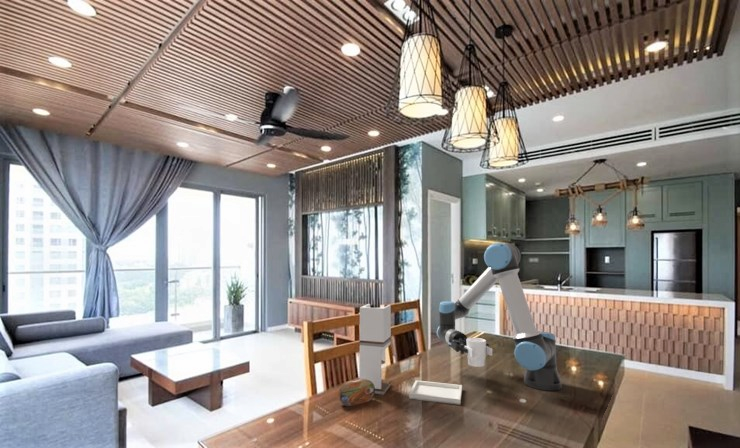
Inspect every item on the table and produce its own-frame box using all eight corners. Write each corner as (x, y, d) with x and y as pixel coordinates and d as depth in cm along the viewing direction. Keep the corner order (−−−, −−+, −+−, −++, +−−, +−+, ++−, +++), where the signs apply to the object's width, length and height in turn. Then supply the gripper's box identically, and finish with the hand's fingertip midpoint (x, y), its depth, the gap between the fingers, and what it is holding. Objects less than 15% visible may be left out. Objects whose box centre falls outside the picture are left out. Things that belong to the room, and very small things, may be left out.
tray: (462, 389, 155) (462, 385, 156) (460, 404, 140) (460, 399, 140) (415, 384, 161) (415, 380, 161) (409, 398, 146) (409, 393, 146)
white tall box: (383, 394, 150) (383, 308, 153) (359, 391, 153) (359, 307, 156) (390, 385, 161) (390, 304, 164) (368, 382, 164) (368, 303, 167)
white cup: (487, 368, 145) (487, 342, 146) (467, 366, 147) (466, 341, 148) (485, 362, 153) (484, 338, 154) (465, 361, 155) (465, 337, 156)
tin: (340, 408, 137) (340, 385, 138) (337, 405, 140) (337, 382, 140) (375, 400, 144) (375, 378, 145) (371, 398, 147) (371, 376, 147)
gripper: (476, 346, 170) (505, 360, 148) (435, 348, 165) (458, 363, 143) (476, 330, 171) (504, 341, 148) (435, 331, 166) (458, 344, 144)
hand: (482, 352), depth 146 cm, fingers closed on white cup, 7 cm apart
